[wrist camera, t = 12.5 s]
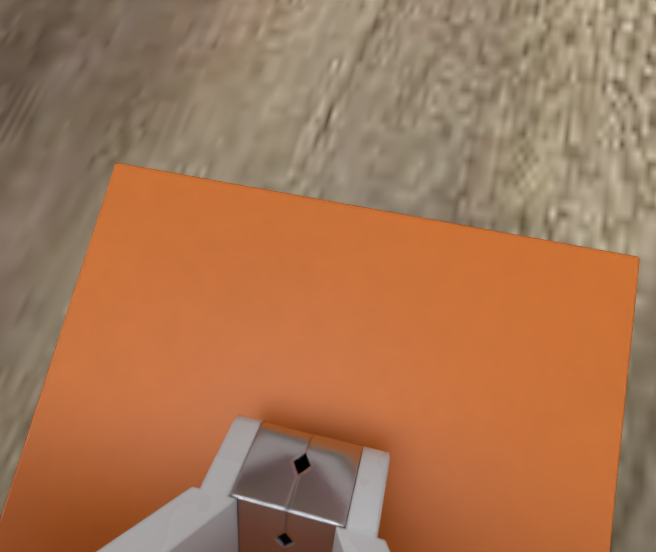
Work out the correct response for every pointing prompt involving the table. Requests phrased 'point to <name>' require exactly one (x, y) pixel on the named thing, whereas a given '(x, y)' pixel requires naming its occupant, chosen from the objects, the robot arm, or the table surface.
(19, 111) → the table surface
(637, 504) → the table surface
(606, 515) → the lid
